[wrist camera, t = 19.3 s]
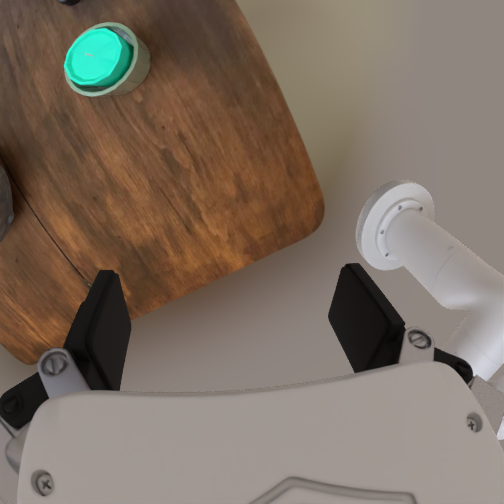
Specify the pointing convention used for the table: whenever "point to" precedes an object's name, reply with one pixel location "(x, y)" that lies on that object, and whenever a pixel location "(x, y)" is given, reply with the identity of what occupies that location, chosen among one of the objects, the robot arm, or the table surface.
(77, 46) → the candle
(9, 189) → the bowl
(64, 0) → the statue
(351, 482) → the robot arm
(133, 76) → the tin
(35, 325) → the table surface
